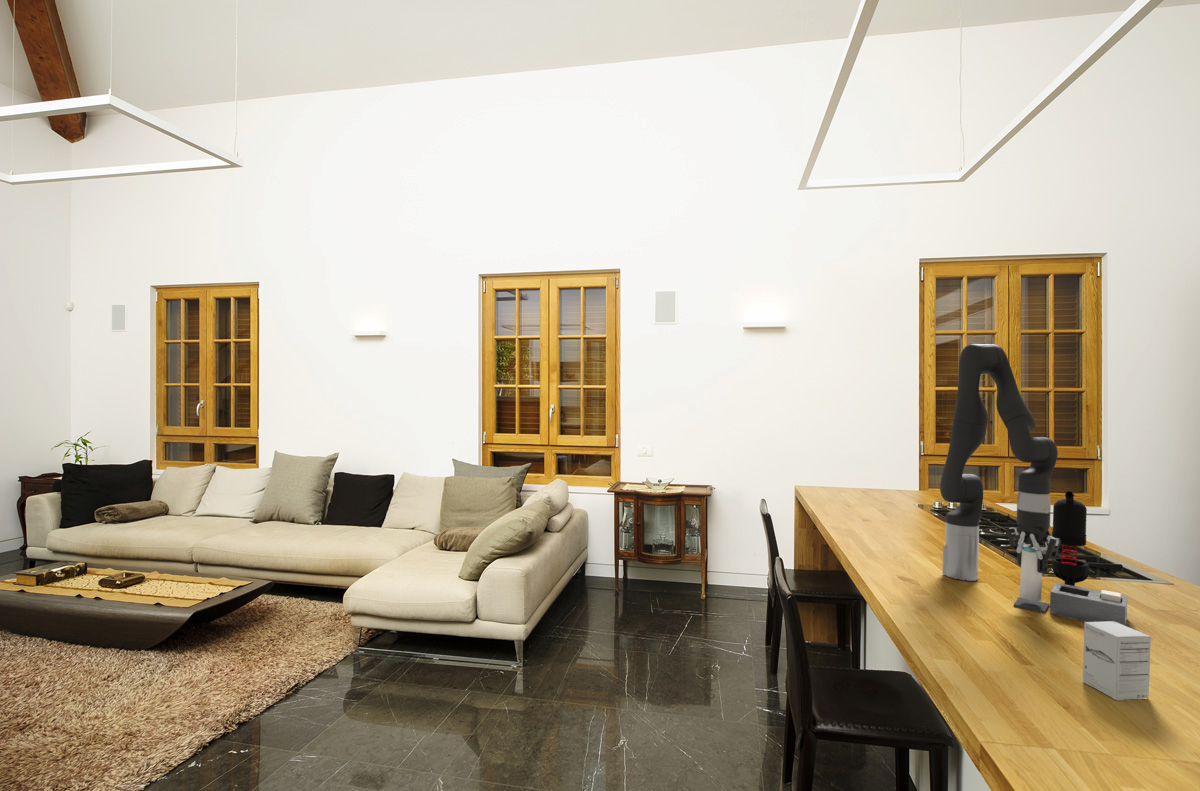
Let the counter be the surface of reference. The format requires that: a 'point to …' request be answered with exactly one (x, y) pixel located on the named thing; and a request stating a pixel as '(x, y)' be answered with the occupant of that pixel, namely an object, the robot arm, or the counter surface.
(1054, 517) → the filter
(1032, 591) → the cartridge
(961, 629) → the counter surface
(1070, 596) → the housing
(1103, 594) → the off-white cube
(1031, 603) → the mat
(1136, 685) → the supplement box
